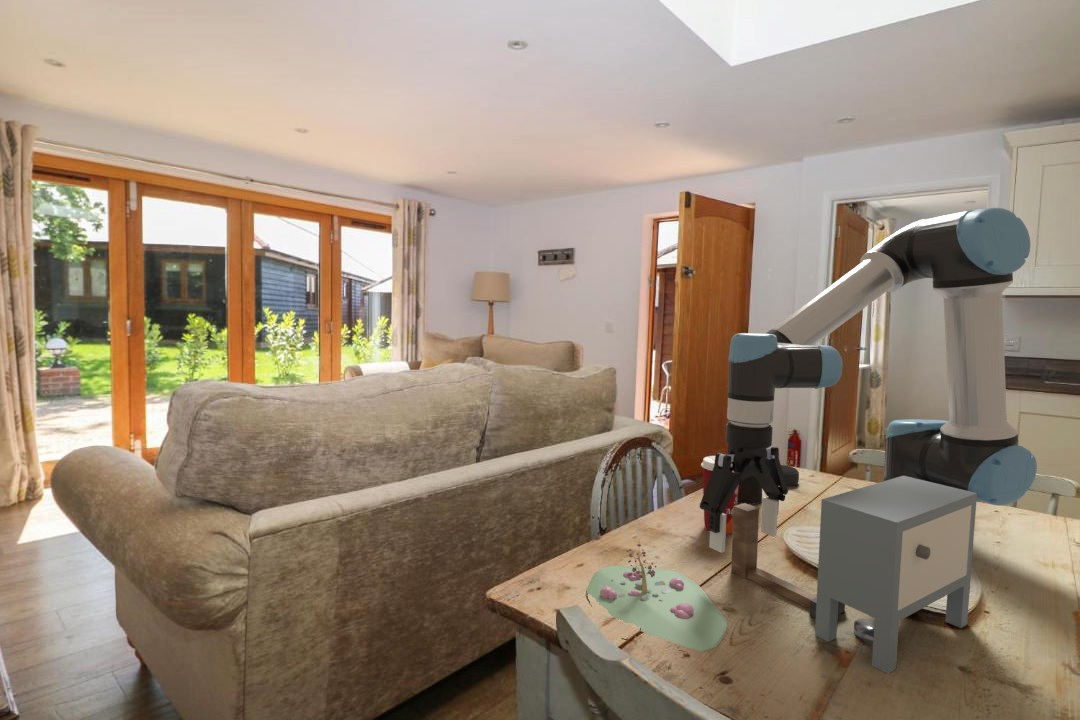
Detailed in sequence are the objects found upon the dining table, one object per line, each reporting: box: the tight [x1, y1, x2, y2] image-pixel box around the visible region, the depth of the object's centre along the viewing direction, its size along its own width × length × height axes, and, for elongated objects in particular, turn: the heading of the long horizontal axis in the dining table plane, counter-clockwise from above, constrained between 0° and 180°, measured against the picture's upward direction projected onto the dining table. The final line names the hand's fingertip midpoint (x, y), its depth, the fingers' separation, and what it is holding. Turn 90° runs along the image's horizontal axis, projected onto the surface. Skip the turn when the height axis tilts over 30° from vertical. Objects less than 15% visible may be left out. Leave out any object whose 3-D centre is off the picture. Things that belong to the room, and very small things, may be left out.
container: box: [725, 419, 763, 505], centre depth 137 cm, size 9×9×20 cm
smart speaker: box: [778, 464, 800, 487], centre depth 152 cm, size 9×9×4 cm
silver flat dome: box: [853, 617, 875, 646], centre depth 80 cm, size 5×5×2 cm
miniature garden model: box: [586, 543, 728, 653], centre depth 89 cm, size 25×21×9 cm
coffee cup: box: [700, 455, 739, 535], centre depth 119 cm, size 8×8×15 cm
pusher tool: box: [730, 503, 846, 620], centre depth 93 cm, size 18×6×12 cm, turn 31°
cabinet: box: [814, 476, 977, 674], centre depth 81 cm, size 22×11×20 cm, turn 121°
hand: (743, 541), depth 99 cm, fingers open, 13 cm apart
